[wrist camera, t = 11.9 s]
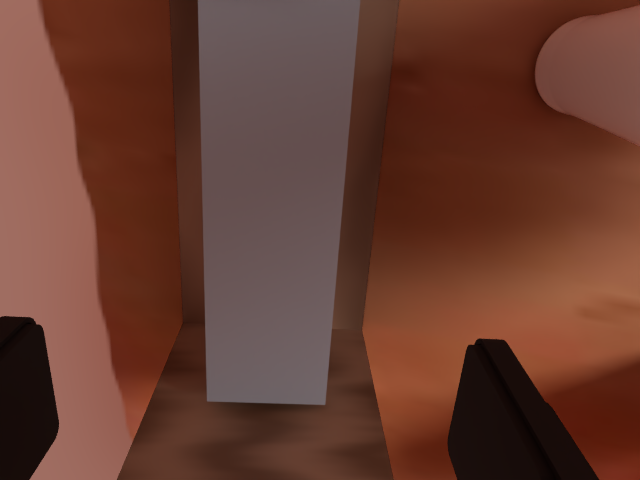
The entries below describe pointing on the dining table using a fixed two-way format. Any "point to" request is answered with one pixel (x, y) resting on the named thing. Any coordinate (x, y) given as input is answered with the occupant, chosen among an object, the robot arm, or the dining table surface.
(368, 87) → the shelf unit
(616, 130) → the drinking glass
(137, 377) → the dining table surface
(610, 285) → the dining table surface
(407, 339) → the dining table surface
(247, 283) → the shelf board
